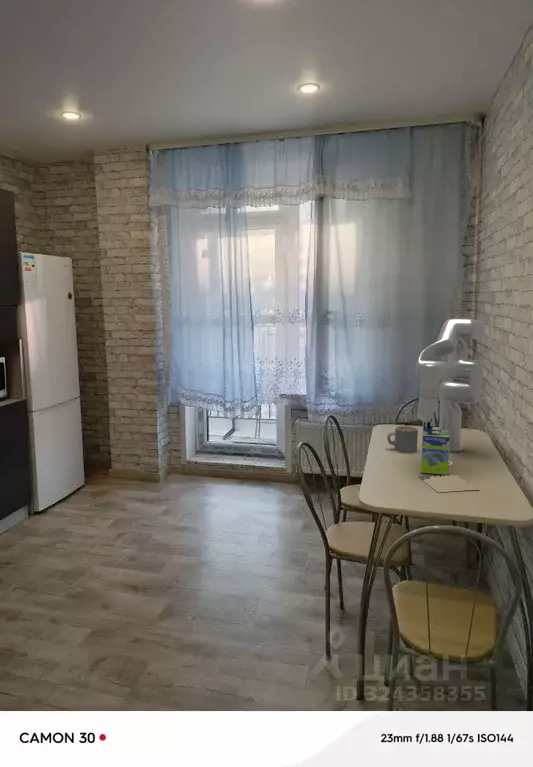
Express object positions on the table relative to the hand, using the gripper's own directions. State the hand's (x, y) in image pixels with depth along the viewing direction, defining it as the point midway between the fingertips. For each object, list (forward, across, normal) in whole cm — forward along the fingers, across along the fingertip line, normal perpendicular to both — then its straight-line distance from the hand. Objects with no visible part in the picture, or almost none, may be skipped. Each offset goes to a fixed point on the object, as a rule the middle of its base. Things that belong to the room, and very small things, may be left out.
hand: (427, 437), depth 214 cm
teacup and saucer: (+13, -6, +7) cm, 16 cm away
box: (+13, +8, 0) cm, 15 cm away
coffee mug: (+13, -26, 0) cm, 29 cm away
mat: (+13, +19, 0) cm, 23 cm away
